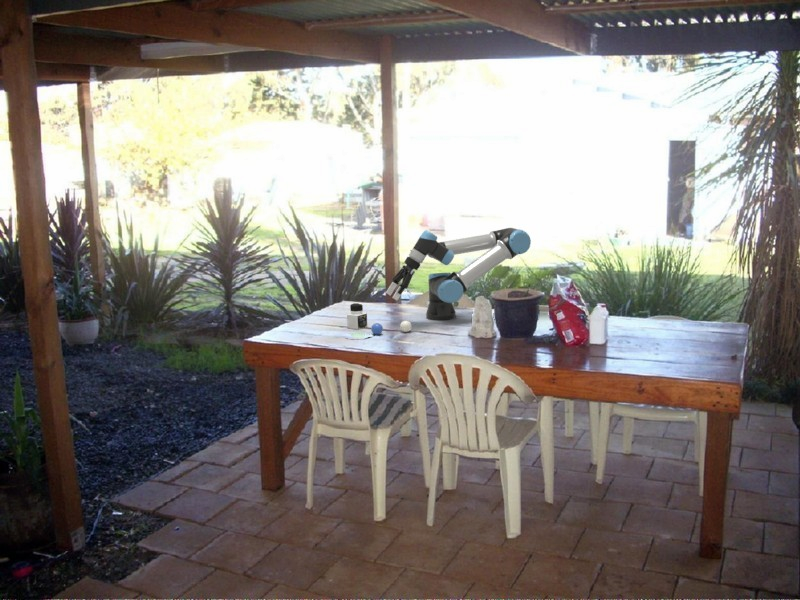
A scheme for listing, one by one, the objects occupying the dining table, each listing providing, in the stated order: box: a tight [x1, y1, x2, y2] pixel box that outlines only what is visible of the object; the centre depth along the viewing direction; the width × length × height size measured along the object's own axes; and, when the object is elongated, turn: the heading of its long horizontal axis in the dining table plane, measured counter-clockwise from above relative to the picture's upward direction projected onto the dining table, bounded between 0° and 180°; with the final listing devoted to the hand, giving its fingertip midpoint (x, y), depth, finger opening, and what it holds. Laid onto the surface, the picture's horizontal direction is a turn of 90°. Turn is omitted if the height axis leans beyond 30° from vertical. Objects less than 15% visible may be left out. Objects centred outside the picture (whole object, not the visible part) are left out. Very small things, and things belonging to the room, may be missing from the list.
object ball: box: [370, 322, 384, 336], centre depth 385 cm, size 6×6×6 cm
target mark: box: [349, 332, 371, 340], centre depth 384 cm, size 14×14×1 cm
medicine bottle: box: [346, 302, 368, 330], centre depth 401 cm, size 7×7×12 cm
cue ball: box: [399, 320, 412, 333], centre depth 388 cm, size 6×6×6 cm
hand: (391, 296), depth 397 cm, fingers open, 13 cm apart
